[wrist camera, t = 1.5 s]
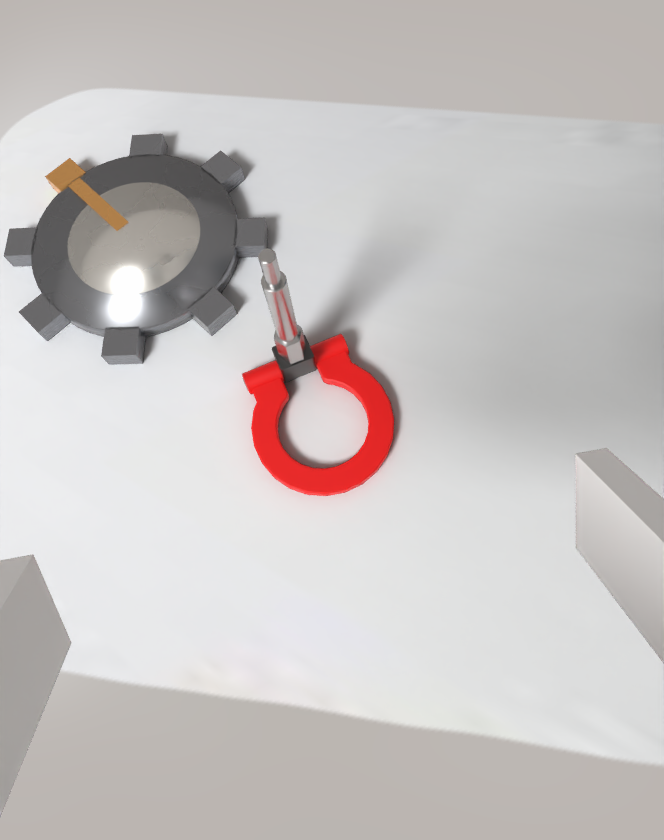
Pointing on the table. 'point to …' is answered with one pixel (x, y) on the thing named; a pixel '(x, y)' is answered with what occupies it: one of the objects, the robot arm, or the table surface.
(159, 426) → the table surface
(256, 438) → the tow hook
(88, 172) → the sprocket plate
